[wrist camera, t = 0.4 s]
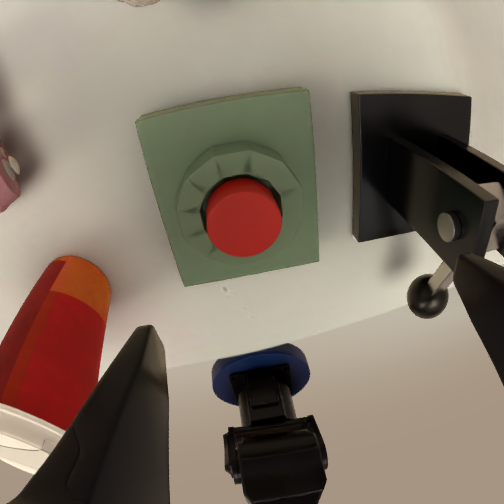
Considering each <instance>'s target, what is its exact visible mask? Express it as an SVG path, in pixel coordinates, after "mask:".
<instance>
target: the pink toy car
mask: <svg viewBox="0 0 504 504" xmlns="http://www.w3.org/2000/svg"><path fill="white" fill-rule="evenodd" d="M19 170H20V169H19V164H18V162H17V161H16V159H14V158H13V157H11V156H8V154H7V152H6V149H5V148H4V146H3V144H2V142H1V141H0V213H1V212H3V211H5V210H6V209H7V207H8V206H9V205H10V204H11V203H12V202H14V201H15V200H16V199H17V198H18V197H19V196H20V188H19V185H18V183H17V180H16V178H15V173H14V171H15V172H16V173H17V174H19V173H20V172H19Z"/></svg>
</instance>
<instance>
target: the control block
mask: <svg viewBox="0 0 504 504" xmlns="http://www.w3.org/2000/svg"><path fill="white" fill-rule="evenodd" d="M135 124H136V128H137V132H138V136H139V139H140V143H141V147H142V151H143V155H144V158H145V162H146V166H147V169H148V173H149V176H150V180H151V183H152V187H153V190H154V194H155V197H156V200H157V204H158V207H159V210H160V214H161V217H162V220H163V223H164V226H165V230H166V233H167V236H168V239H169V242H170V245H171V248H172V251H173V254H174V257H175V260H176V263H177V266H178V269H179V272H180V275H181V278H182V281H183V284H184V286H185V287H187V286H193V285H198V284H204V283H209V282H215V281H220V280H225V279H231V278H236V277H241V276H247V275H252V274H257V273H262V272H267V271H273V270H278V269H283V268H288V267H293V266H298V265H303V264H308V263H313V262H318V261H319V240H318V211H317V190H316V172H315V156H314V142H313V129H312V117H311V106H310V96H309V90H306V89H304V88H301V87H295V88H285V89H277V90H268V91H261V92H254V93H247V94H240V95H234V96H228V97H222V98H217V99H212V100H206V101H201V102H196V103H192V104H187V105H182V106H178V107H174V108H169V109H165V110H161V111H157V112H153V113H149V114H145V115H142V116H141V117H139V118H138V119H137V120H136V121H135ZM238 178H248V179H253V180H256V181H258V182H260V183H262V184H264V185H265V186H266V187H267V188H268V189H269V190H270V191H271V193H272V195H273V197H274V199H275V201H276V203H277V205H278V208H279V210H280V212H281V216H282V227H281V231H280V234H279V236H278V238H277V239H276V241H275V242H274V243H273V244H272V245H271V246H270V247H269V248H268V249H267V250H265V251H263V252H261V253H259V254H257V255H254V256H249V257H235V256H231V255H228V254H226V253H223V252H222V251H220V250H219V249H218V248H216V247H215V246H214V244H213V243H212V242H211V240H210V238H209V236H208V233H207V220H206V208H207V203H208V200H209V198H210V196H211V194H212V193H213V192H214V190H215V189H216V188H218V187H219V186H220V185H221V184H223V183H225V182H227V181H229V180H233V179H238Z"/></svg>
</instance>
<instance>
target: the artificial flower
mask: <svg viewBox="0 0 504 504" xmlns="http://www.w3.org/2000/svg"><path fill="white" fill-rule="evenodd" d="M119 1H122V0H119ZM124 1H126V2H127V3H129V4H131V5H133V6H145V5H149V4H153V3H155V2H157V1H160V0H124ZM124 1H122V2H124Z"/></svg>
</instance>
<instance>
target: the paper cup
mask: <svg viewBox="0 0 504 504" xmlns="http://www.w3.org/2000/svg"><path fill="white" fill-rule="evenodd" d="M110 296H111V289H110V285H109V282H108V280H107V278H106V276H105V275H104V274H103V272H102V271H101V270H100V269H99V268H98V267H96V266H95V265H94V264H92V263H91V262H89V261H87V260H85V259H82V258H79V257H74V256H64V257H60V258H57V259H55V260H54V261H53V262H52V263H50V265H49V266H48V267H47V268H46V270H45V271H44V272H43V274H42V275H41V277H40V278H39V280H38V281H37V283H36V284H35V286H34V287H33V289H32V290H31V292H30V294H29V295H28V297H27V298H26V300H25V302H24V303H23V305H22V307H21V308H20V310H19V312H18V314H17V315H16V317H15V319H14V321H13V322H12V324H11V326H10V328H9V329H8V331H7V333H6V335H5V337H4V339H3V341H2V343H1V345H0V459H1V460H3V461H4V462H6V463H8V464H10V465H12V466H14V467H17V468H19V469H21V470H24V471H26V472H29V473H32V474H35V473H36V472H37V471H38V469H39V468H40V467H41V465H42V464H43V463H44V462H45V460H46V459H47V457H48V456H49V455H50V453H51V452H52V451H53V449H54V448H55V447H56V445H57V444H58V442H59V441H60V439H61V438H62V436H63V435H64V433H65V432H66V430H67V429H68V427H69V425H70V424H72V421H73V420H74V418H75V416H76V415H77V413H78V412H79V410H80V409H81V407H82V406H83V404H84V403H85V401H86V400H87V398H88V397H89V395H90V394H91V393H92V391H93V390H94V388H95V387H96V385H97V384H98V376H99V368H100V361H101V354H102V347H103V341H104V334H105V328H106V322H107V316H108V310H109V304H110Z"/></svg>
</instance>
